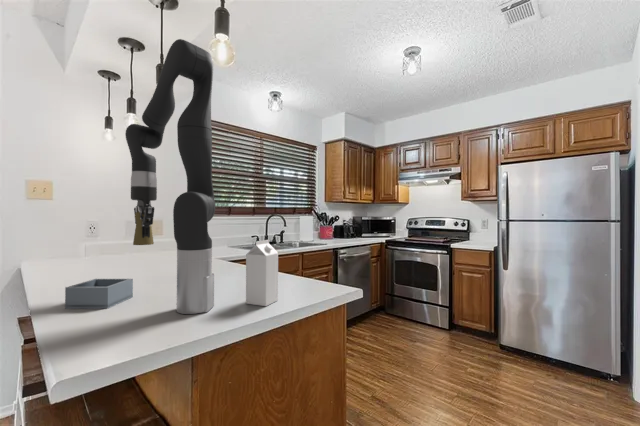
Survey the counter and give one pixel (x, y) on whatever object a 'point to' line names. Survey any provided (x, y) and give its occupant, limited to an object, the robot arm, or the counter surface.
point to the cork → (138, 233)
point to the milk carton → (262, 274)
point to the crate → (98, 293)
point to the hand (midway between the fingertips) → (143, 237)
